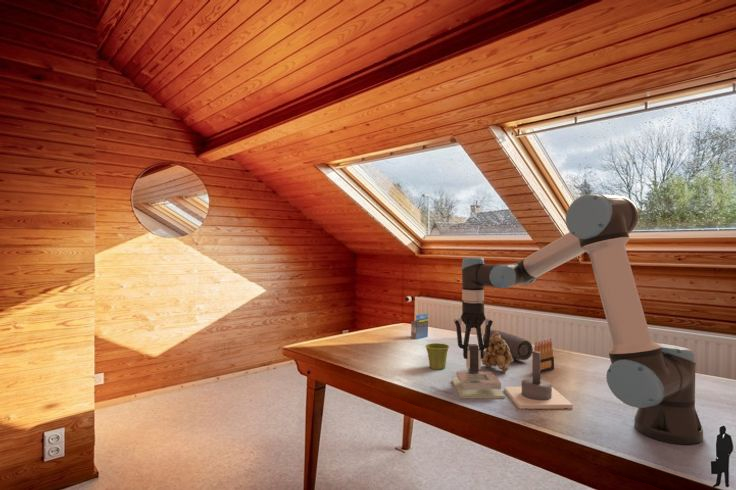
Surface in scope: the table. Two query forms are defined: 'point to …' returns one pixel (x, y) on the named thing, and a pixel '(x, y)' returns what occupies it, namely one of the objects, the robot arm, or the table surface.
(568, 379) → the table surface
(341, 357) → the table surface
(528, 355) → the bluetooth speaker
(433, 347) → the plant pot
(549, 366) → the ammunition clip
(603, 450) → the table surface
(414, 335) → the label tape box
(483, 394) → the mat
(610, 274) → the robot arm
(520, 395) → the stand
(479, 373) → the pink square frame
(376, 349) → the table surface
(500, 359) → the mineral formation
